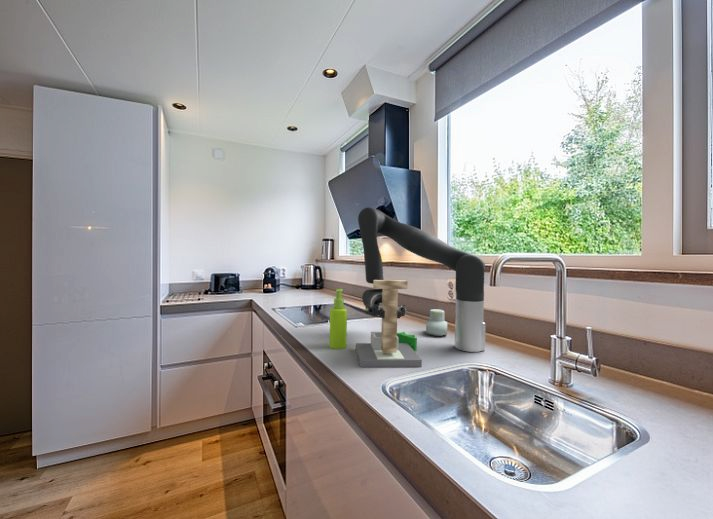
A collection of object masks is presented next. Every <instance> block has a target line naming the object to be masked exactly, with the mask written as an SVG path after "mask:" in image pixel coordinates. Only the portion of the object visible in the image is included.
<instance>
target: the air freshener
mask: <svg viewBox="0 0 713 519" xmlns="http://www.w3.org/2000/svg"><path fill="white" fill-rule="evenodd" d="M425 323H426V327H425V332H426V333H427V334H428V335H430V336H435V337H443V335H444V336H445V335H447V334H448V321H446V320H445V311H444V310H443V309H438V308H436V309H435V308H433V309H430V310H429V319H428V320H426V322H425Z"/></svg>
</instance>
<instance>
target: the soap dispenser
mask: <svg viewBox="0 0 713 519" xmlns="http://www.w3.org/2000/svg"><path fill="white" fill-rule="evenodd" d="M343 291H344V288H337V289H336V290H335V293H336V297H335V298H334V299H333V307H332V308H329V311H330V312H329V347H330V349H332V350H333V349H335V350H341V349H342V350H343V349H346V347H347V335H348V334H347V329H348V327H347V324H348V322H347V321H348V309H347V308H345V306H344V303H345V302H344V298H342V292H343Z"/></svg>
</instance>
